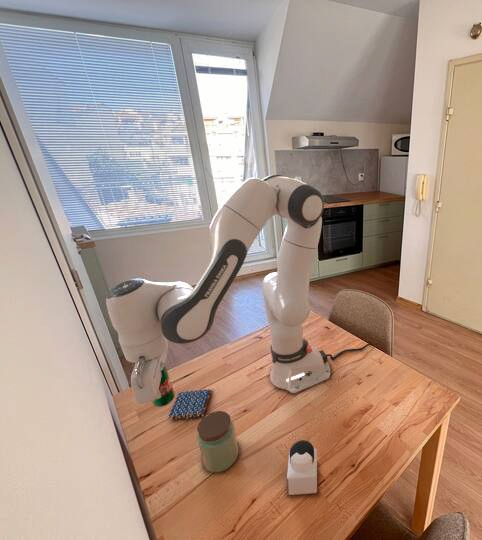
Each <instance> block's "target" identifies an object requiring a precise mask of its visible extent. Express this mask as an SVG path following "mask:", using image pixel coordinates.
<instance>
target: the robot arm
mask: <svg viewBox="0 0 482 540" xmlns="http://www.w3.org/2000/svg"><path fill="white" fill-rule="evenodd" d="M324 202H325V201H324V196H323V193H321V191H319V189H317V188H316V187H315V186H313V185H311V184H308V183H306V182H304V181H301V180H299V179H297V178H291V177H287V176H284V175H281V174H270V175H267V176H265V177H263V178H258V177H250V178H247V179H245V181H243V182H242V183H241V184H240V185H239V186H238V187H237V188H235V190H233V191H232V193H231V194H230V195H229V196H228V197H227V198H226V199H225V201H224V202H223V203H222V205H221V206H220V207H219V209H218V210H217V212H216V213H215V215H214V216H213V218H212V221H211V223H210V225H209V237H210V240H211V258H210V261H209V264H208V265H207V267H206V269H205V270H204V272H203V273H202V275H201V276H200V278H199V280H198V281H197V283H196V284H195V286H194V287H193V285H191V284H190V283H188V282H185V281H181V280H180V281H176V280H175V281H171V282H156V281H155V282H154V281H149V280H147V279H143V278H131V279H128V280H124V281H122V282H120V283H118V284H116V285H115V286H114V287H112V288H111V289H110V290H109V291H108V293H107V295H106V299H105V304H106V309H107V314H108V316H109V319H110V322H111V325H112V328H113V329H114V330H115V331H116V332H117V334H118V343H119V345H120V348H121V351H122V353H123V356H124V358H125V360H126V361H127V362H129V363H132V364H133V363H135V364H134V367H133V370H132V372H131V376H130V385H131V388H132V393H133V397H134V399H135V402H136V404H138V405H144V404H148V403H152V401H155V400H156V399H159V398H161V395H162V392H161V388H160V389H159V386H160V382H161V377H162V373H161V367H160V366H161V362H163V363H165V364H166V361H167V356H168V352H169V347H170V345H169V342H171V343H174V344H177V345H178V344H181V345H183V344H184V345H185V344H191V343H194V342H197V341H198V340H200V339H202V338H203V337H205V336H206V335H207V334H208V333H209V332H210V330H211V329H212V327H213V324H214V320H215V317H216V312H217V310H218V308H219V305H220V304H221V302H222V300H223V299H224V297H225V296H226V294H227V292H228V290H229V289H230V287H231V285H232V284H233V282H234V281H235V279H236V277H237V275H238V274H239V272H240V270H241V269H242V267H243V265H244V263H245V260H246V258H247V256H248V252H249V251H250V249H251V247H252V245H253V244H254V242H255V240H256V239H257V237H258V236H259V235H260V234H261V232H262V231H263V230H264V227H265V226H266V225H267V223H268V221H269V220H270V219H271V218H272V217H274V216H276V215H277V216H279V217H281V218H284V219H286V227H285V230H284V233H283V236H282V240H281V244H280V247H279V250H278V254H277V258H276V271H274V272H270V273H269V274H267V275H266V276H265V277H264V278H263V280H262V282H261V290H262V295H263V302H264V307H265V313H266V317H267V322H268V326H269V332H270V359H271V361H272V362H271V369H270V374H269V380H270V383H271V384H272V385H273V386H274V387H276V388H278V389H281V390H286V391H288V392H289V393H290V394H297V393H299V392H301V391H304V390H306V389H308V388H310V387H313V386H315V385H317V384H319V383H321V382H324V381H326V380H328V379H330V377H331V368H330V367H331V366H330V364H329V362H328V357H330V359H331V360H336V359H337V358H338V357H339V356H341V355H342V354H344V353H347V352H357V351H358V352H359V351H361V350H364V349H366V348H367V347H368V346H373V345H374V344H373V343H371V342H369V343H366V344H365V345H364V346H362V347H359V348H349V349H348V348H347V349H343V350H342V351H340V352H339V353H338V354H337V355H335V356H333V355H332V354H331V353H326V352H325V351H324V350H323V349H322V350H319V349H317V348H316V347H314V346H311V345H309V342H308V340H307V339H306V338H305V336H304V334H303V324H304V323H305V322H306V321H307V320H308V318H309V316H310V314H311V313H310V312H311V307H310V302H309V294H310V293H309V292H310V291H309V290H310V279H311V278H310V277H311V271H312V267H313V263H314V260H315V256H316V253H317V249H318V246H319V242H320V238H321V235H322V228H323V227H322V225H323V218H322V215H323V212H324V209H325V208H324V207H325V203H324Z"/></svg>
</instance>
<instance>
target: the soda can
mask: <svg viewBox="0 0 482 540" xmlns="http://www.w3.org/2000/svg"><path fill="white" fill-rule="evenodd" d="M160 367H161V373H162V377H161V382H160V386H159V389H160V388H161V392H162V395H161V398H159V399H156V400H155V401H152V402H151V403H152V404H153V406H155V407H157V408H161V407H165V406H168V405H169V404H170V403H171V402H173V400H174V399H175V396H176V395H175V394H176V393H175V391H174V388H173V385H172V382H171V379H170V375H169V373H168V372H169V371H168V370H167V365H166V362H165V363H163V362H161V366H160Z"/></svg>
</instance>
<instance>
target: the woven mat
mask: <svg viewBox="0 0 482 540" xmlns="http://www.w3.org/2000/svg"><path fill="white" fill-rule="evenodd" d="M211 395H212V390H211V389H210V388H206V389H204V388H203V389H198V390H189V391H187V390H186V391H185V390H184V391H181V392H179V393H178V394H177V397H176V398H175V399H176V400H174V402H173V403H174V404H173V405H172V409H170V413H169V414H168V419H169V420H173V419H174V420H178V419H181V418H182V419H186V420H188V419H189V418H192V417H193V418H196V417H200V416H201V417H202V418H204V417H205V412H206V410H207V406H208V403H209V400H210V399H211V397H210V396H211Z"/></svg>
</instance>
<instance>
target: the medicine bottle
mask: <svg viewBox="0 0 482 540" xmlns="http://www.w3.org/2000/svg"><path fill="white" fill-rule="evenodd" d="M286 481H287V483H286V484H287V493H288V495H289V496H295V495H307V494H316V493H317V492H318V450H317V448H314V445H313V444H312V442H311V441H308V440H303V439H301V440H298V441H296V442H294V443H293V444H292V446H291V447H290V449H289V451H288V463H287V474H286Z"/></svg>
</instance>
